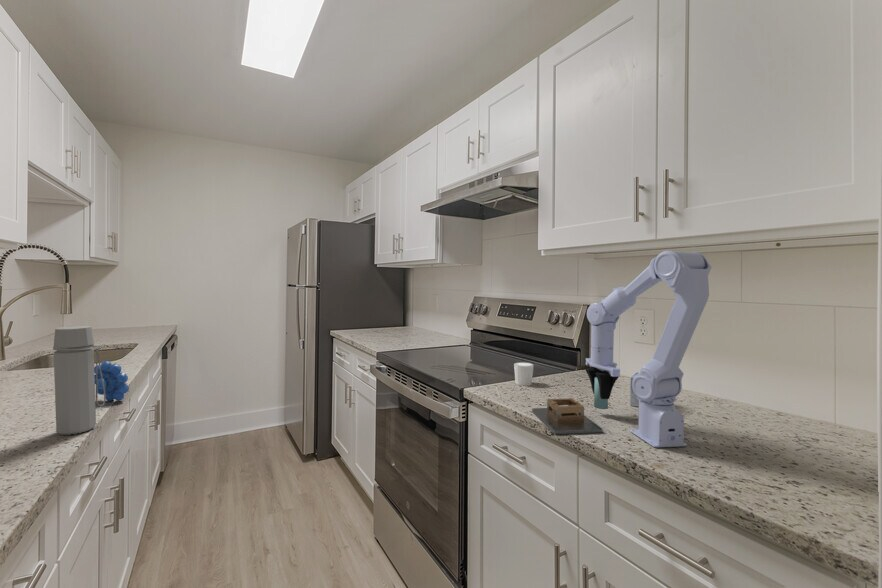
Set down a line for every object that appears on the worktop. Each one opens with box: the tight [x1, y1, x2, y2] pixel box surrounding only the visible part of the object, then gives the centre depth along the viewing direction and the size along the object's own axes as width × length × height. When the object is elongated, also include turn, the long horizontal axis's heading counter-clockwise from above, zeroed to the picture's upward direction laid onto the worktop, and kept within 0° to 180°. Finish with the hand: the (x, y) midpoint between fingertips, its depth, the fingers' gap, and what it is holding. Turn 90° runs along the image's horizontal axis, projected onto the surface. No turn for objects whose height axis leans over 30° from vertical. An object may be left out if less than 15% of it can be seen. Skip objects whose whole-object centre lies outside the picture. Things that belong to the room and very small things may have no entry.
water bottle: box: [52, 325, 106, 436], centre depth 95 cm, size 9×8×25 cm
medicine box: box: [629, 372, 640, 408], centre depth 118 cm, size 8×4×9 cm, turn 143°
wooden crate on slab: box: [531, 397, 603, 435], centre depth 103 cm, size 16×12×5 cm
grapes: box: [94, 360, 130, 402], centre depth 116 cm, size 12×7×12 cm, turn 82°
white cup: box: [513, 361, 534, 387], centre depth 140 cm, size 7×7×7 cm
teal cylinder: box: [593, 377, 609, 410], centre depth 108 cm, size 4×4×8 cm
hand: (601, 396), depth 108 cm, fingers closed on teal cylinder, 3 cm apart
